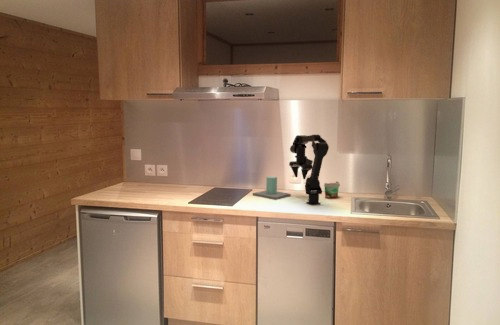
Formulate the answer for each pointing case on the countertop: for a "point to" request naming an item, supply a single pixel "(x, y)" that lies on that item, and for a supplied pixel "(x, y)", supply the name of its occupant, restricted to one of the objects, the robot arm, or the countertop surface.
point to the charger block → (271, 185)
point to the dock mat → (272, 195)
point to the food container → (331, 190)
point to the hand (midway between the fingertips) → (300, 178)
